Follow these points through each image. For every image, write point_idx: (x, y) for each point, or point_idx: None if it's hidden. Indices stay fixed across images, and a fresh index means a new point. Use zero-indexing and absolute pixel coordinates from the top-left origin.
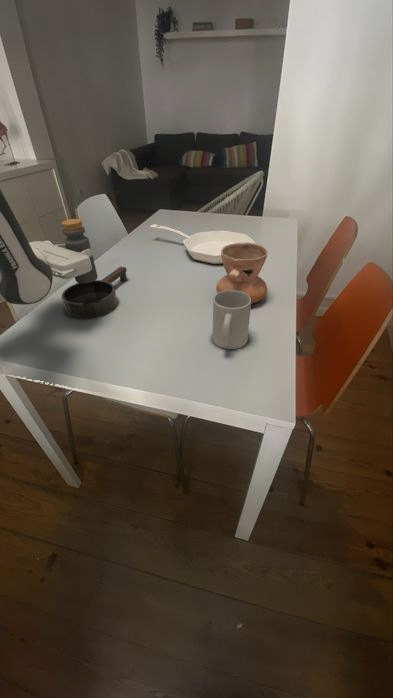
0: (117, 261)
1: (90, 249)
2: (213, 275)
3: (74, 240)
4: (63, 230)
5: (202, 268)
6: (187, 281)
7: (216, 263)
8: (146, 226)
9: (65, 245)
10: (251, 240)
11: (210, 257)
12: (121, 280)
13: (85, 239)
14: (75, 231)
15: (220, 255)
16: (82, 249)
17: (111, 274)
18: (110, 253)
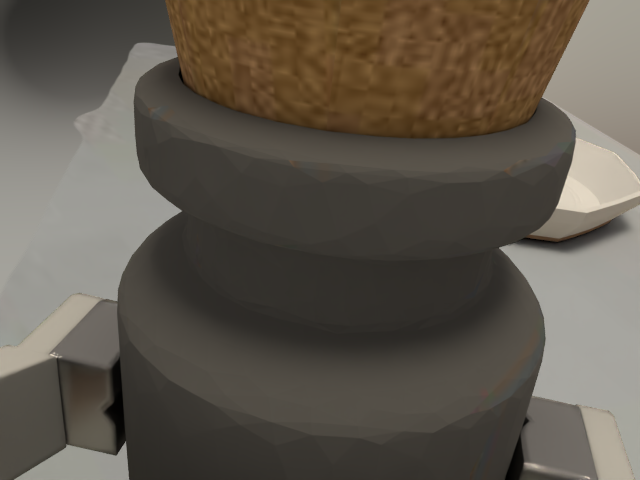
0: (122, 259)
1: (613, 422)
2: (621, 300)
3: (446, 331)
4: (182, 114)
5: (534, 266)
6: (577, 353)
7: (561, 238)
8: (122, 90)
9: (170, 434)
10: (585, 143)
11: (561, 219)
12: None
13: (513, 263)
14: (558, 142)
15: (600, 209)
16: (532, 461)
17: None
18: (50, 213)
